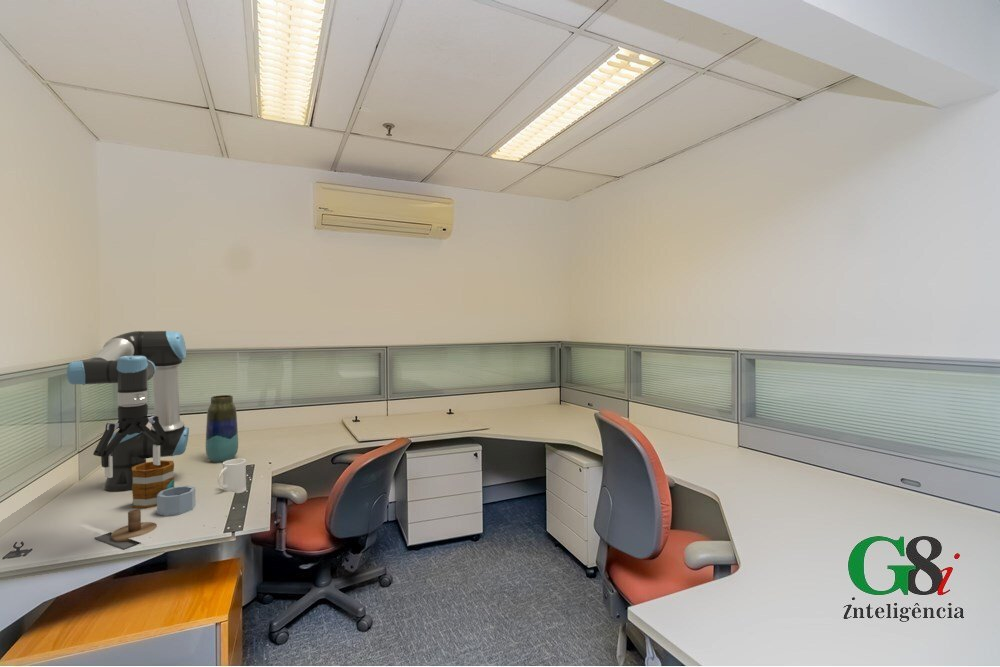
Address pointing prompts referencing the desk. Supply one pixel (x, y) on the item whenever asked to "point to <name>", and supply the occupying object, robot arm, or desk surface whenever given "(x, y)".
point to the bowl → (176, 500)
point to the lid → (133, 528)
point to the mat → (123, 545)
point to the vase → (221, 429)
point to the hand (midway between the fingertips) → (133, 470)
